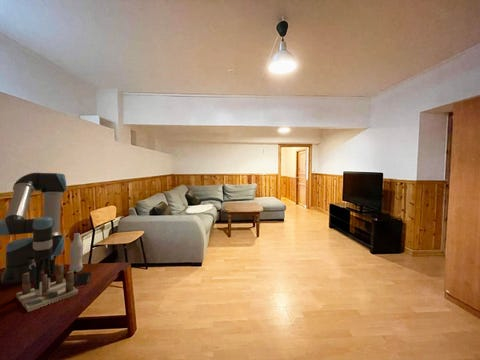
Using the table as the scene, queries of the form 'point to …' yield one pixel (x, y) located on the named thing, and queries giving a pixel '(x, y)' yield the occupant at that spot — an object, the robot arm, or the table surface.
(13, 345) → the table surface
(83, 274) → the phone
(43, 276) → the hinged leg
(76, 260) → the water bottle
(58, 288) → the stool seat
